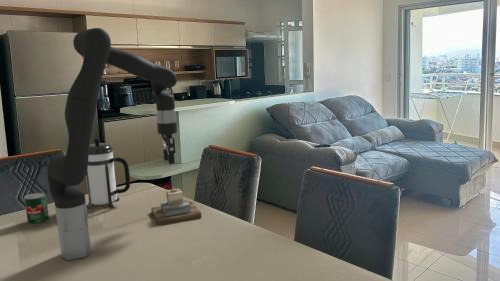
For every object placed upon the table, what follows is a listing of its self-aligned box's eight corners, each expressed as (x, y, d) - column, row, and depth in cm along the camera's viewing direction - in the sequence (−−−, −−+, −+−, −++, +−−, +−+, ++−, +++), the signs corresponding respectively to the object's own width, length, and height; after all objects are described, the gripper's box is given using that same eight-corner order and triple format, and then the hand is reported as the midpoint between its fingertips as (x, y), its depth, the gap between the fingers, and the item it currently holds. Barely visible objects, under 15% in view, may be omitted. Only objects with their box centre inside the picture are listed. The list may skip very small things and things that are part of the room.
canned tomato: (47, 216, 179) (43, 191, 177) (51, 221, 173) (47, 195, 171) (26, 221, 175) (22, 195, 173) (29, 226, 169) (25, 200, 167)
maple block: (183, 204, 173) (182, 190, 172) (169, 206, 171) (168, 192, 170) (180, 200, 178) (179, 186, 177) (166, 202, 176) (165, 188, 175)
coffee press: (95, 213, 181) (87, 143, 176) (80, 204, 193) (73, 139, 188) (132, 202, 193) (126, 137, 187) (116, 195, 205) (110, 133, 199)
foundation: (201, 217, 171) (200, 205, 170) (158, 225, 165) (157, 212, 164) (191, 205, 186) (190, 194, 185) (151, 212, 180) (150, 200, 179)
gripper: (180, 122, 163) (182, 164, 166) (172, 118, 176) (175, 157, 179) (160, 124, 161) (163, 166, 163) (154, 120, 174) (156, 159, 177)
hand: (169, 161), depth 171 cm, fingers open, 8 cm apart
